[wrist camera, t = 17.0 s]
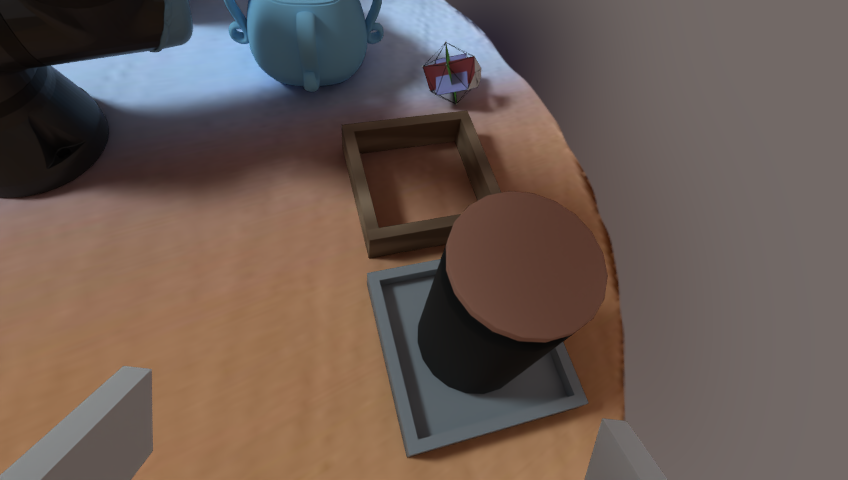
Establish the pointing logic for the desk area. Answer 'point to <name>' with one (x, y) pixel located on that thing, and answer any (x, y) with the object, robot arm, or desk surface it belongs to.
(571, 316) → the coffee jar
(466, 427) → the grey tray
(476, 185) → the walnut collar
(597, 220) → the desk surface
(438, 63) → the geometric puzzle
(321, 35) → the decorative pot
